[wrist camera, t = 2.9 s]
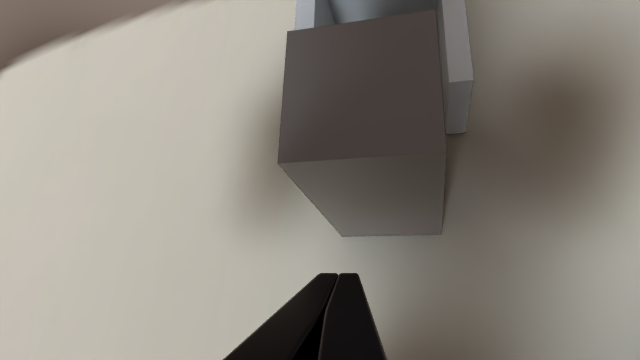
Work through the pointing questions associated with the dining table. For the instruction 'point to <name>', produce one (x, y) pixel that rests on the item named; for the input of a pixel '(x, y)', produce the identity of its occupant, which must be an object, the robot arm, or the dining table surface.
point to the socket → (455, 57)
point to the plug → (367, 124)
